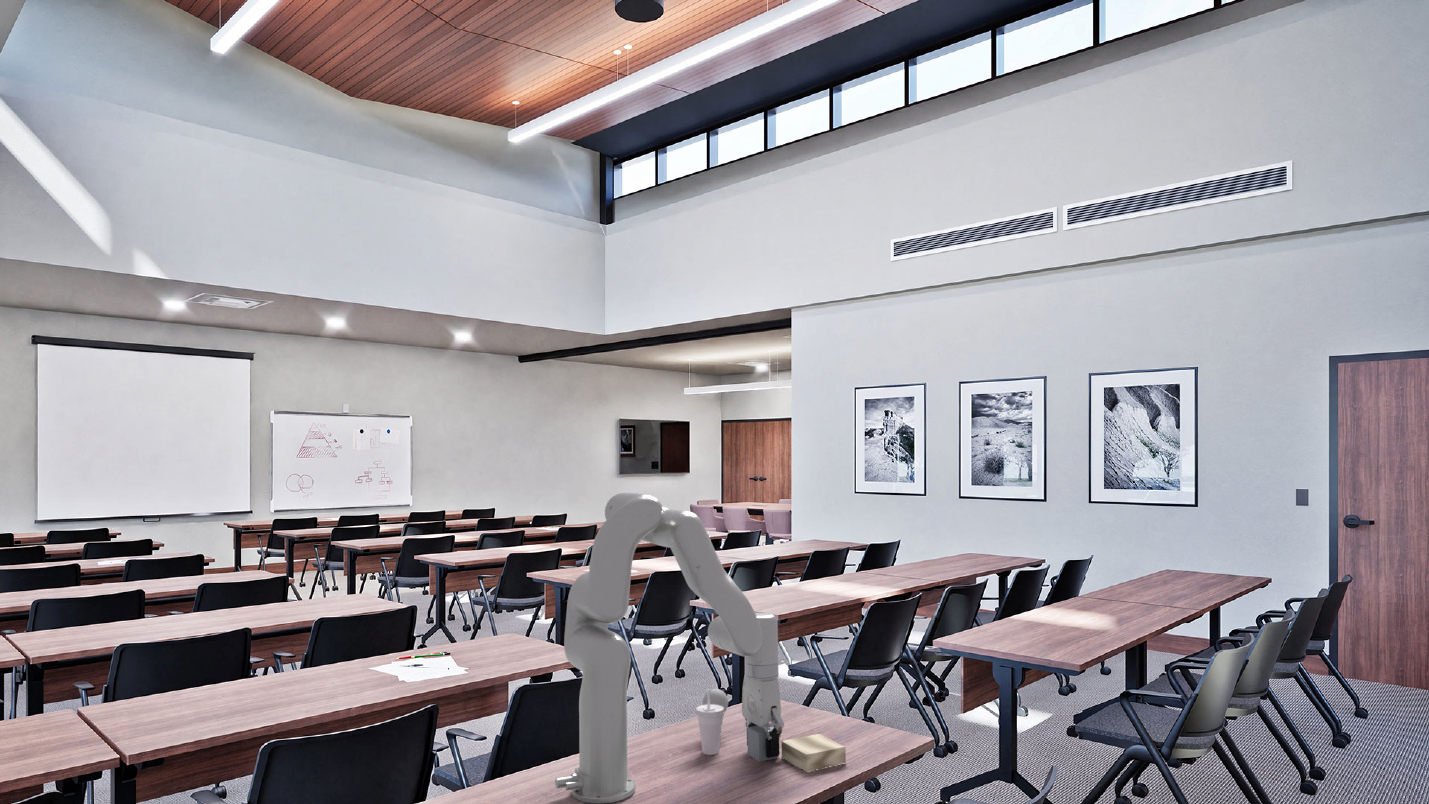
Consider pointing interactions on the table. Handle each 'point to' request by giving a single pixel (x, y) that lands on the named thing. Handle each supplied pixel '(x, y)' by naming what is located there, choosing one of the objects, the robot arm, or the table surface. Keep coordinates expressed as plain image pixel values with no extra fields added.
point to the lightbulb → (717, 699)
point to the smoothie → (710, 726)
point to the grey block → (757, 743)
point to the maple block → (813, 752)
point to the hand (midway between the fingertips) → (762, 750)
